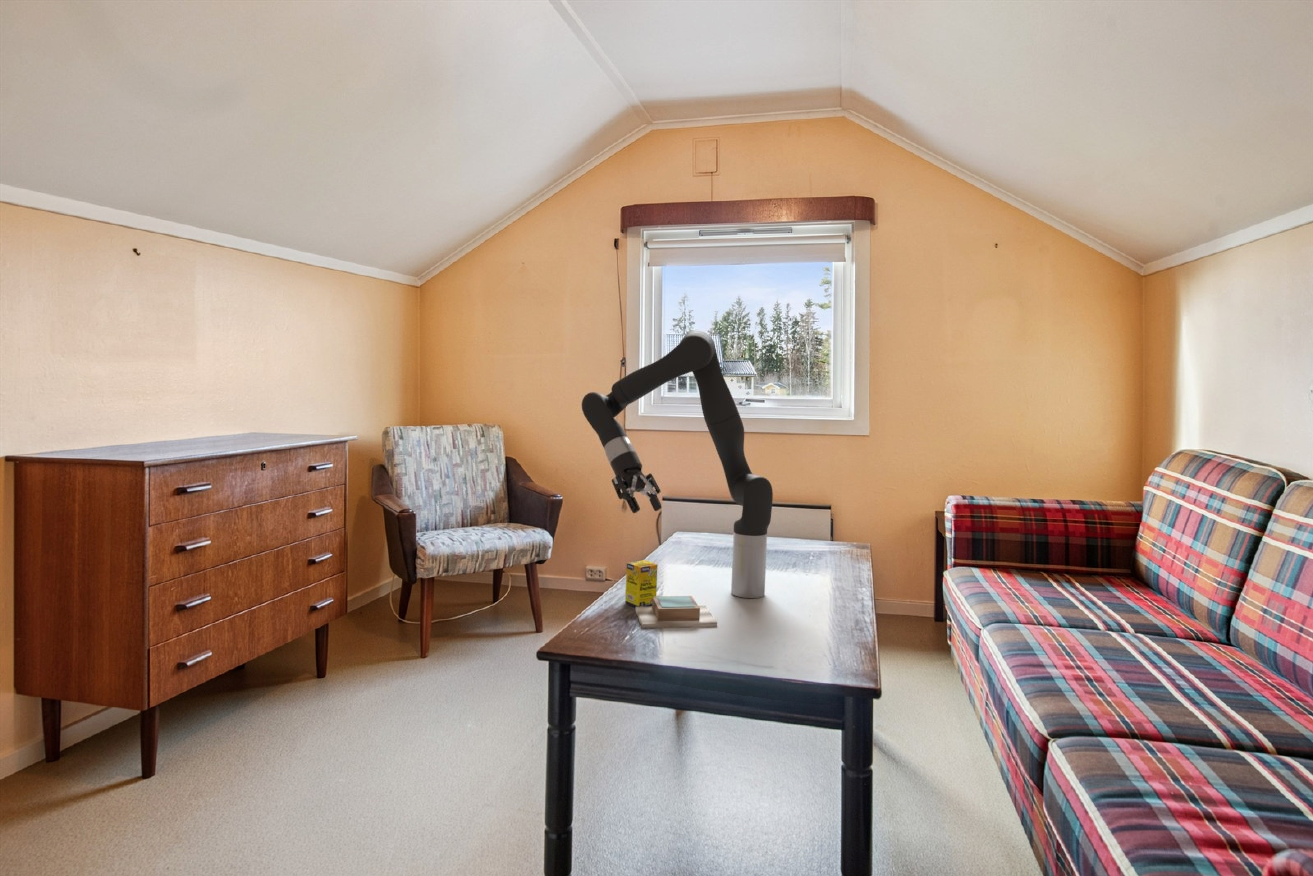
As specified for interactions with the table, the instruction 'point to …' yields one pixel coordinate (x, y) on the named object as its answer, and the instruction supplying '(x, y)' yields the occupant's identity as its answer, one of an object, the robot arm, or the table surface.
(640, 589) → the supplement box
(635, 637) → the table surface
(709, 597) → the table surface
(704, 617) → the board
